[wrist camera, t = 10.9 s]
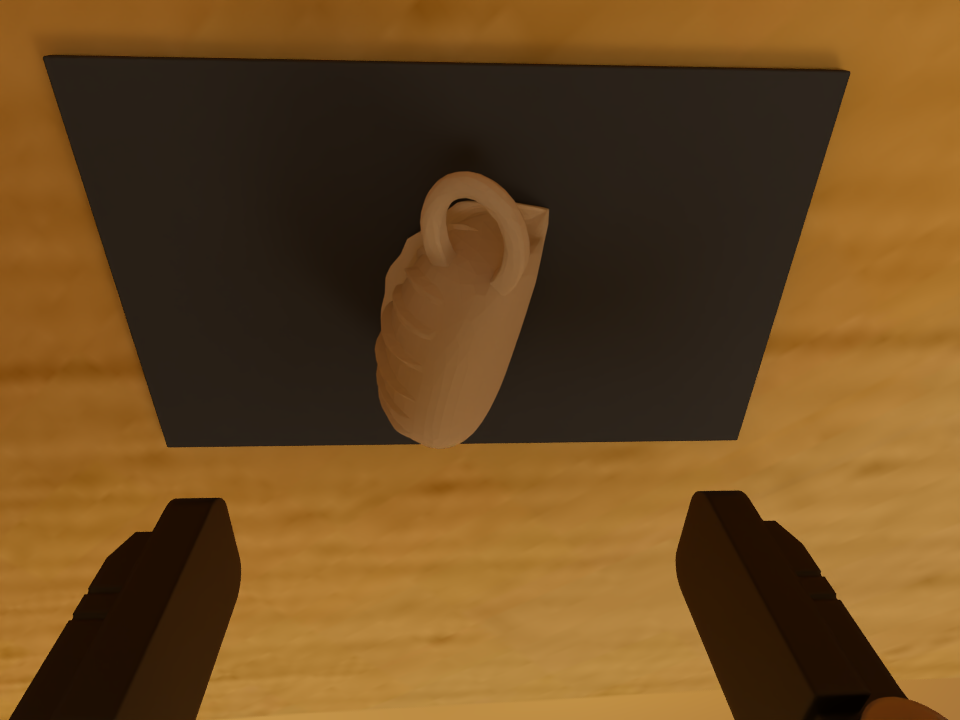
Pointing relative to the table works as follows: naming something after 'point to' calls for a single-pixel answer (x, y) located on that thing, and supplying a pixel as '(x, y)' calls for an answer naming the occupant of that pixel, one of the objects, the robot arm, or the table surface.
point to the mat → (396, 217)
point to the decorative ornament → (456, 308)
